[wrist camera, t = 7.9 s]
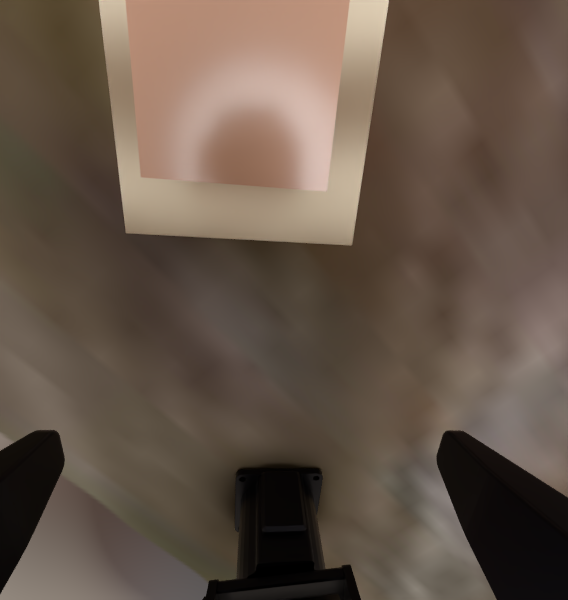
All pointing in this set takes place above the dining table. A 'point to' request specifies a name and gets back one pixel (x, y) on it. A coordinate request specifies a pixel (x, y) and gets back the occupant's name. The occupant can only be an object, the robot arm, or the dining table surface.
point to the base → (241, 198)
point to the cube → (237, 89)
